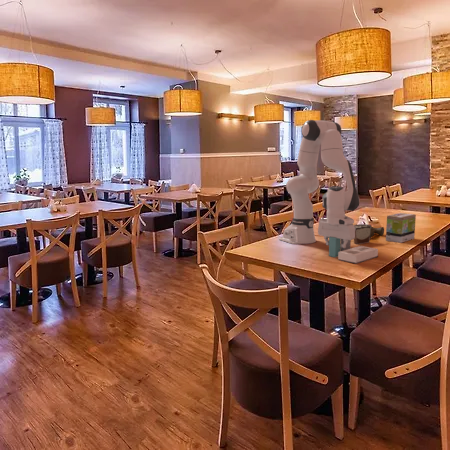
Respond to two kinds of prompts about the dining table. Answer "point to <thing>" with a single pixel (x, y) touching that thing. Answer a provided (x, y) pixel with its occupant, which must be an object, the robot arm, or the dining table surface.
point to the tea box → (400, 227)
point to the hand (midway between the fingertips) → (335, 246)
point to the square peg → (334, 246)
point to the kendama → (376, 231)
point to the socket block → (357, 254)
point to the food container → (362, 233)
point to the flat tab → (346, 245)
